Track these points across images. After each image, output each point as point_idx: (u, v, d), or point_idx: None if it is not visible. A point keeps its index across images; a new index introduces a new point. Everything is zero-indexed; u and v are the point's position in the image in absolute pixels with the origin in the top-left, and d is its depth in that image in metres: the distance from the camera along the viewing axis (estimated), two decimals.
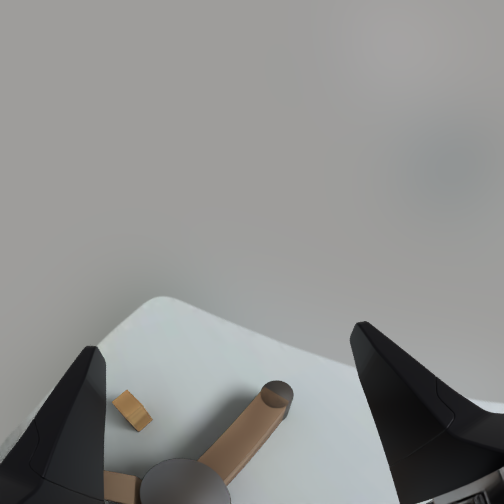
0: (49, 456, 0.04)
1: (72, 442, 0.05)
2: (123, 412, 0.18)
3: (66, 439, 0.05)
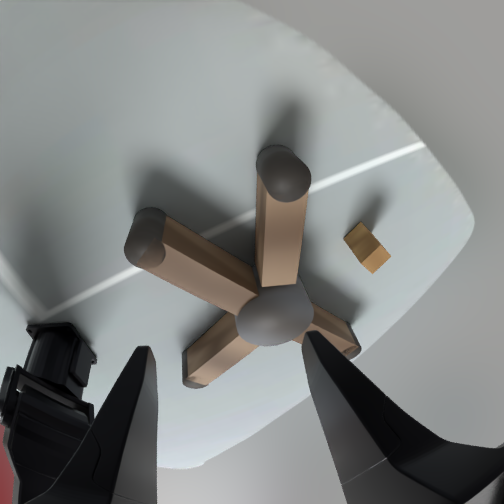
0: (115, 468, 0.05)
1: (134, 449, 0.06)
2: (367, 259, 0.20)
3: (130, 447, 0.05)
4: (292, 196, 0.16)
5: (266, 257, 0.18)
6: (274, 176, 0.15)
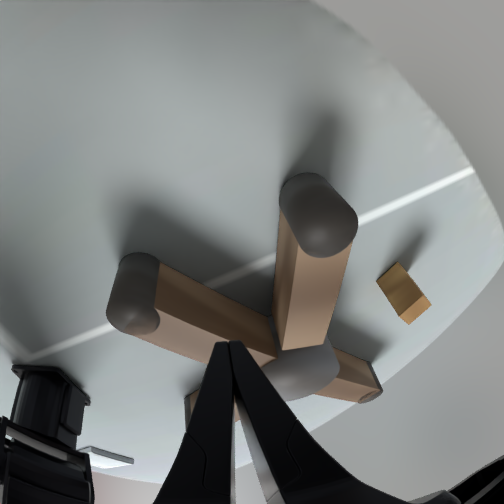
0: (226, 469, 0.05)
1: (232, 447, 0.06)
2: (406, 311, 0.16)
3: (232, 445, 0.06)
4: (331, 250, 0.12)
5: (290, 321, 0.14)
6: (310, 225, 0.11)
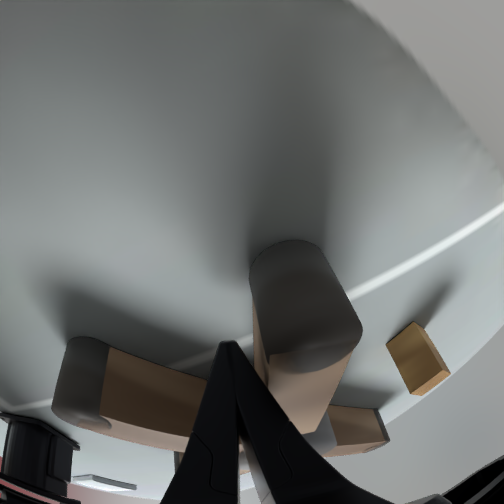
0: (233, 468, 0.05)
1: (238, 446, 0.06)
2: (420, 387, 0.11)
3: (238, 444, 0.06)
4: (321, 364, 0.08)
5: None
6: (285, 345, 0.07)
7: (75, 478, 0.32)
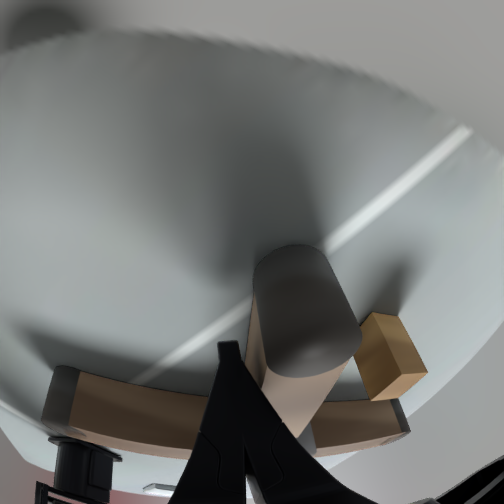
0: (241, 467, 0.05)
1: None
2: (381, 393, 0.10)
3: None
4: (317, 370, 0.08)
5: None
6: (286, 347, 0.07)
7: (144, 489, 0.40)
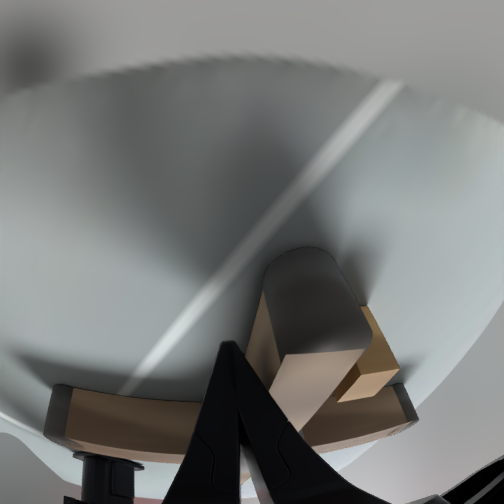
0: (235, 468, 0.05)
1: None
2: (346, 394, 0.09)
3: (239, 444, 0.06)
4: (326, 370, 0.08)
5: None
6: (303, 346, 0.07)
7: None
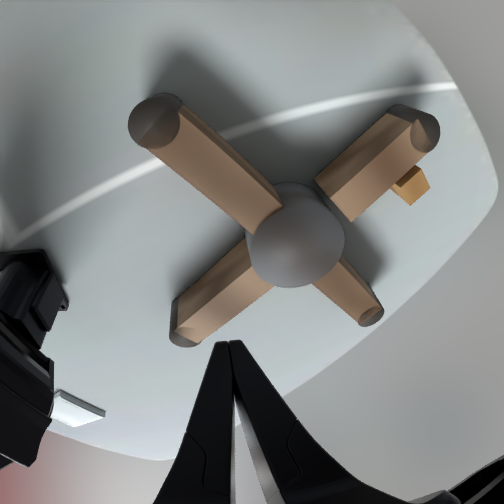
0: (226, 469, 0.05)
1: (232, 447, 0.06)
2: (407, 183, 0.16)
3: (232, 445, 0.06)
4: (418, 146, 0.15)
5: (361, 173, 0.15)
6: (423, 120, 0.14)
7: None
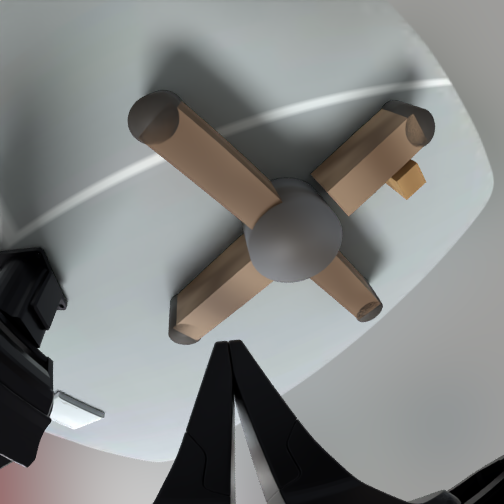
0: (226, 469, 0.05)
1: (232, 447, 0.06)
2: (403, 177, 0.16)
3: (232, 445, 0.06)
4: (413, 140, 0.15)
5: (358, 167, 0.16)
6: (418, 115, 0.14)
7: None
